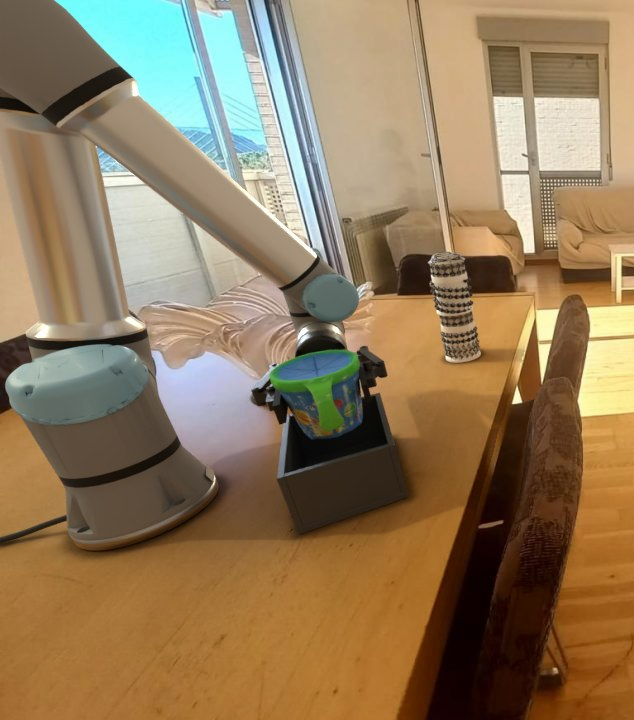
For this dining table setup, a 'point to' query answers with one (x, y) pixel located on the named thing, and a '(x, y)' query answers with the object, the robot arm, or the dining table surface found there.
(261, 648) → the dining table surface
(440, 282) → the decorative candle
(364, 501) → the waste bin
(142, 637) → the dining table surface
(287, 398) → the snack cup
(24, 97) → the robot arm
